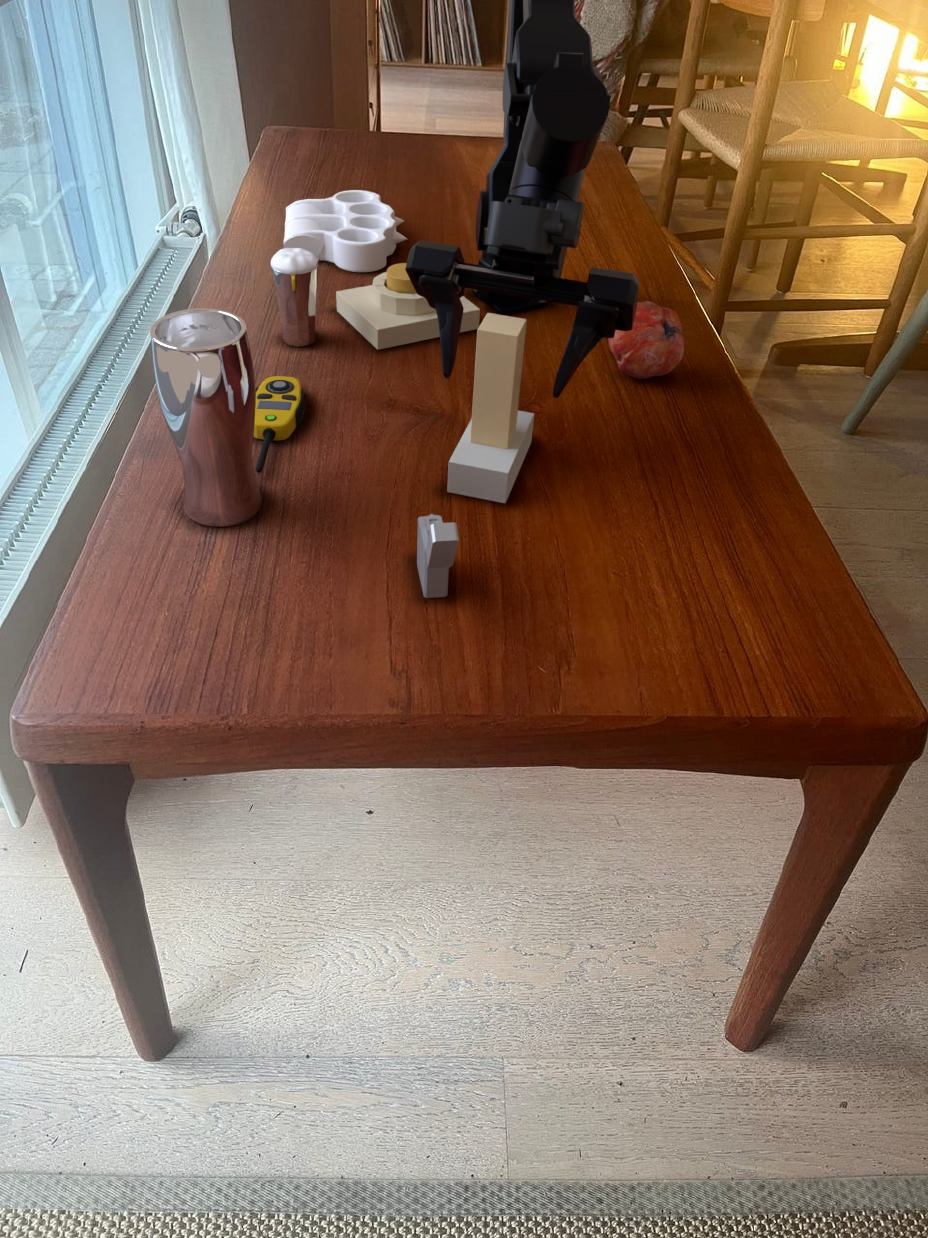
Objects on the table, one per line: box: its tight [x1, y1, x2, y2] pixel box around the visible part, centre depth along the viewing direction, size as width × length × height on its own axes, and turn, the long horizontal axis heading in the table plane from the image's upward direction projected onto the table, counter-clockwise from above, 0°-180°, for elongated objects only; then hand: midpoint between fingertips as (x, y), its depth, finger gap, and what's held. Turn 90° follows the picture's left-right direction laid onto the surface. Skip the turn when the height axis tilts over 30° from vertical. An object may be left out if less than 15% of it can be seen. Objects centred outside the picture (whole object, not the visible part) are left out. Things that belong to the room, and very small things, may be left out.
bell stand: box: [335, 271, 481, 351], centre depth 103 cm, size 12×10×4 cm
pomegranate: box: [608, 300, 685, 380], centre depth 96 cm, size 7×7×10 cm
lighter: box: [416, 513, 460, 599], centre depth 69 cm, size 7×2×8 cm, turn 10°
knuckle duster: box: [283, 189, 408, 273], centre depth 119 cm, size 3×18×15 cm
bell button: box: [386, 262, 416, 294], centre depth 102 cm, size 4×4×2 cm
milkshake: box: [270, 246, 324, 348], centre depth 96 cm, size 4×5×10 cm
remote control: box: [253, 375, 306, 474], centre depth 86 cm, size 5×2×15 cm
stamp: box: [446, 312, 535, 504], centre depth 80 cm, size 5×10×13 cm, turn 165°
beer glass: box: [149, 307, 263, 528], centre depth 73 cm, size 7×7×15 cm
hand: (500, 386), depth 80 cm, fingers open, 9 cm apart
